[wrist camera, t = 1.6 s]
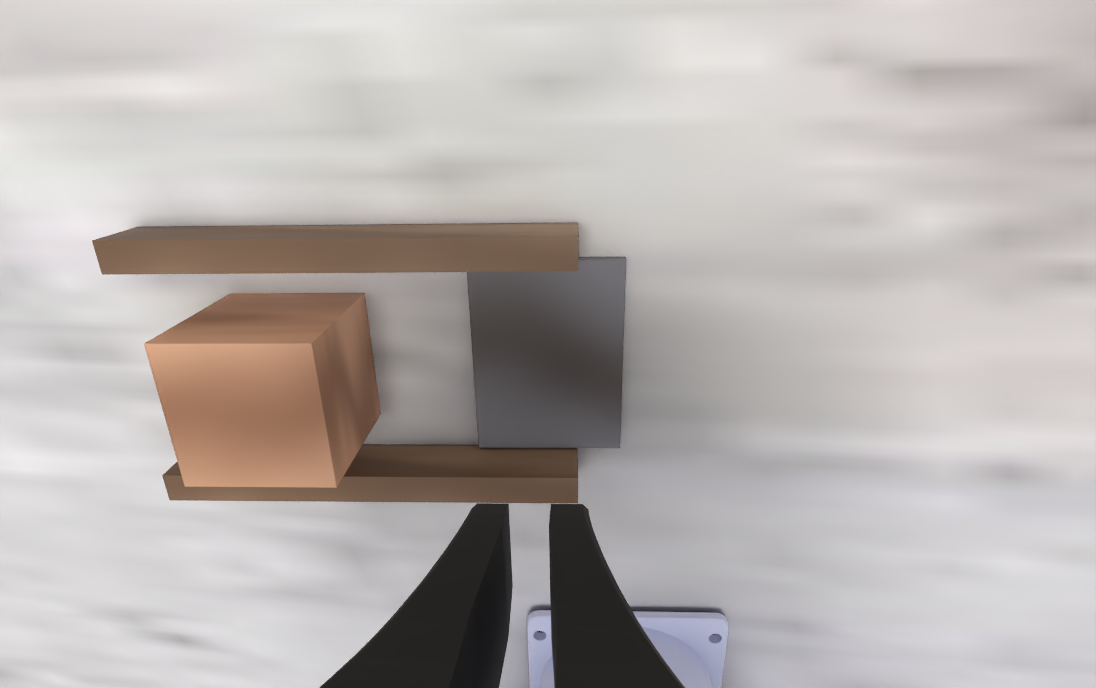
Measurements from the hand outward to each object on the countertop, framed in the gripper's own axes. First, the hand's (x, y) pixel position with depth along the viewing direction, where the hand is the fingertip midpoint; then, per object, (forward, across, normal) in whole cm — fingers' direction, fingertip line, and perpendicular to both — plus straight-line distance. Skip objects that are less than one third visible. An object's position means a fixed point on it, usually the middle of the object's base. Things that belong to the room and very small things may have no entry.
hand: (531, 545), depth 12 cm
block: (+10, +8, 0) cm, 13 cm away
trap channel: (+9, +6, 0) cm, 11 cm away
